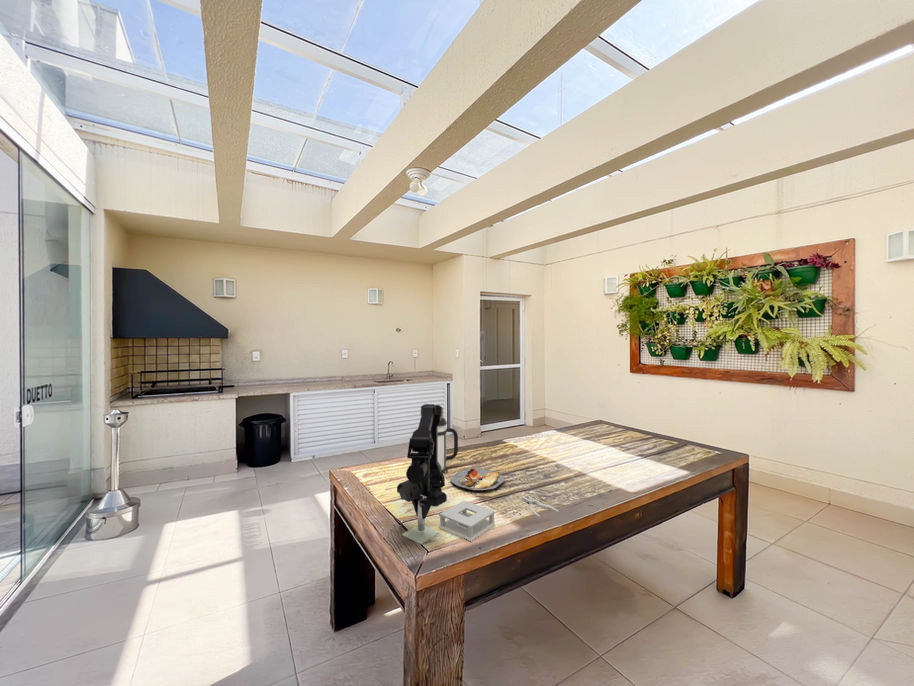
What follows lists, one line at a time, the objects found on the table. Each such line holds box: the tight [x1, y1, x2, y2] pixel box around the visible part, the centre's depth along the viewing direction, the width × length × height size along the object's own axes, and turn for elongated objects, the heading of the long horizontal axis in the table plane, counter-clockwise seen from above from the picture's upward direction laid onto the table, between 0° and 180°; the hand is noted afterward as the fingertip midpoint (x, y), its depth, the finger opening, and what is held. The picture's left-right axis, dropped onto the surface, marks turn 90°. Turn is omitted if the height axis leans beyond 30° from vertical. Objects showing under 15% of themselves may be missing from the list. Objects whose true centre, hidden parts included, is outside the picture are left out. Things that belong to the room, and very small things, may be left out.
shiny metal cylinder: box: [417, 498, 426, 531], centre depth 125 cm, size 2×2×10 cm
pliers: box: [521, 495, 560, 518], centre depth 146 cm, size 10×2×15 cm
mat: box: [401, 525, 441, 545], centre depth 124 cm, size 9×9×1 cm
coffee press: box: [438, 416, 459, 474], centre depth 186 cm, size 17×16×30 cm
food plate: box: [450, 467, 506, 491], centre depth 171 cm, size 25×23×4 cm
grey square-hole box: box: [438, 500, 496, 542], centre depth 130 cm, size 14×14×5 cm
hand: (421, 517), depth 125 cm, fingers closed on shiny metal cylinder, 2 cm apart
